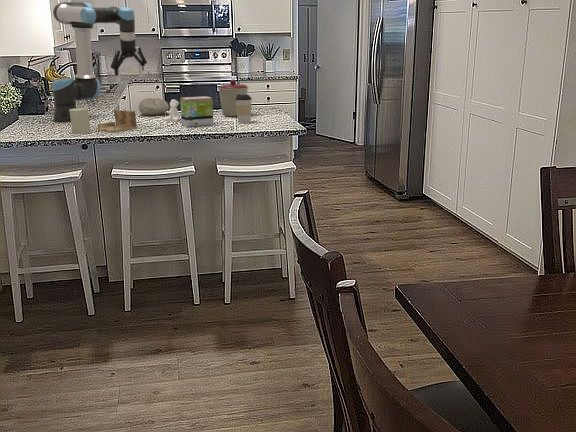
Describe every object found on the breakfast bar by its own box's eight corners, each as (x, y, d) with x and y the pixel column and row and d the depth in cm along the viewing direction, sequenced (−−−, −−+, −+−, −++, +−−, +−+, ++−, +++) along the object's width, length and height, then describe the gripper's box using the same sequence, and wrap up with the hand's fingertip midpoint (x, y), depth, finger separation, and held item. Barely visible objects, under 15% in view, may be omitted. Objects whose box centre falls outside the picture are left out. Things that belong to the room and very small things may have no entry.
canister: (213, 117, 346) (211, 80, 339) (227, 113, 362) (226, 77, 355) (241, 118, 339) (239, 80, 333) (254, 114, 355) (253, 78, 348)
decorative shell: (153, 112, 371) (152, 96, 368) (175, 113, 363) (174, 97, 360) (133, 116, 357) (131, 99, 354) (155, 117, 348) (154, 100, 345)
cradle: (97, 130, 308) (95, 112, 305) (119, 126, 319) (117, 109, 316) (115, 132, 300) (113, 114, 298) (136, 128, 311) (135, 111, 309)
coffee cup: (255, 121, 328) (254, 93, 324) (248, 123, 320) (247, 95, 315) (240, 120, 331) (238, 93, 326) (233, 123, 323) (232, 95, 318)
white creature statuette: (162, 121, 333) (160, 100, 330) (171, 119, 341) (169, 98, 337) (176, 122, 329) (174, 100, 326) (185, 120, 337) (183, 98, 333)
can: (85, 133, 299) (82, 109, 296) (68, 133, 301) (65, 109, 298) (94, 130, 308) (91, 107, 304) (78, 130, 310) (75, 107, 306)
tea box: (187, 127, 312) (185, 99, 308) (181, 124, 321) (179, 97, 316) (214, 125, 319) (212, 97, 314) (207, 122, 328) (206, 95, 323)
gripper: (109, 44, 296) (112, 85, 307) (152, 38, 311) (153, 77, 322) (101, 40, 300) (104, 80, 311) (144, 34, 315) (146, 73, 327)
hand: (129, 79), depth 317 cm, fingers open, 13 cm apart
